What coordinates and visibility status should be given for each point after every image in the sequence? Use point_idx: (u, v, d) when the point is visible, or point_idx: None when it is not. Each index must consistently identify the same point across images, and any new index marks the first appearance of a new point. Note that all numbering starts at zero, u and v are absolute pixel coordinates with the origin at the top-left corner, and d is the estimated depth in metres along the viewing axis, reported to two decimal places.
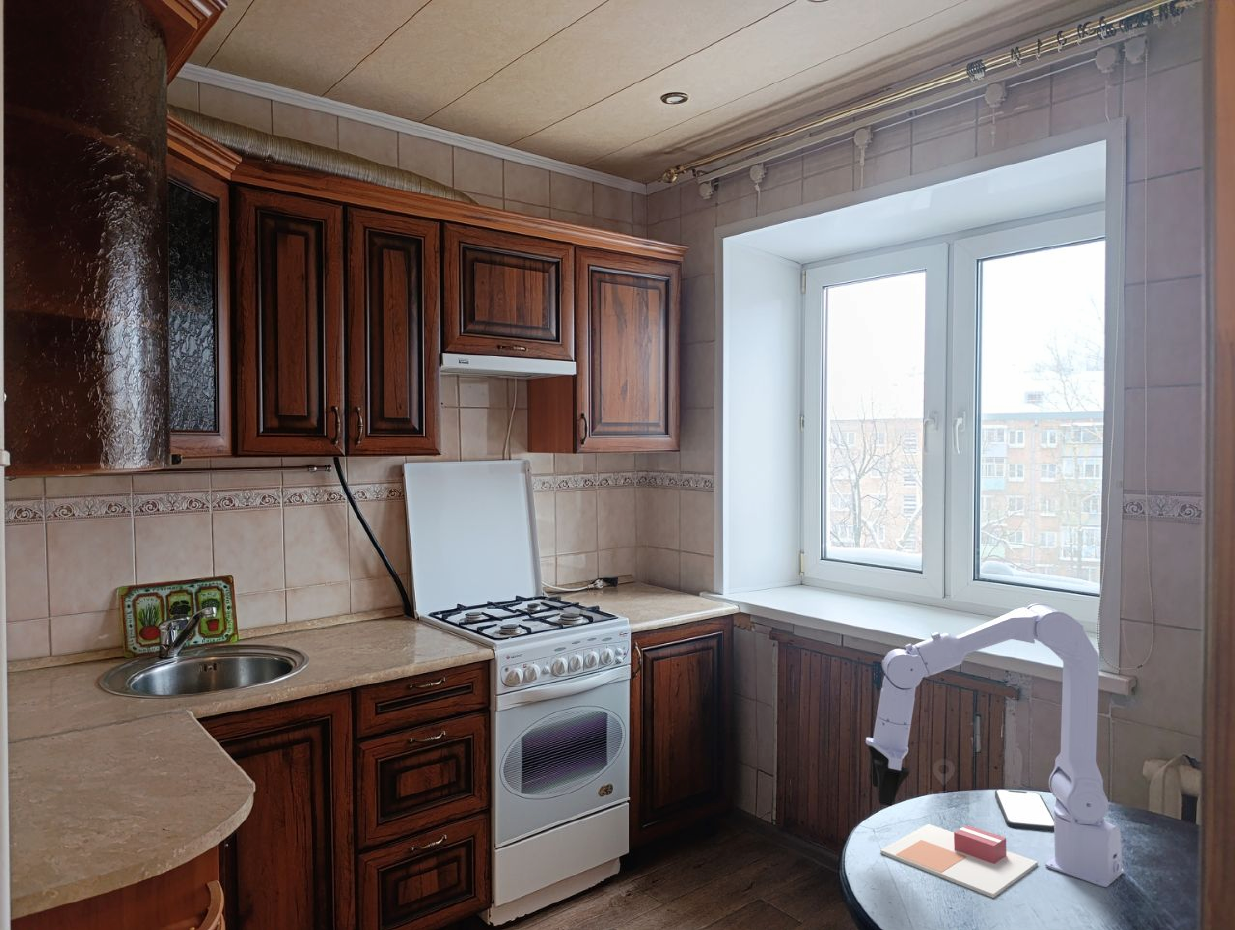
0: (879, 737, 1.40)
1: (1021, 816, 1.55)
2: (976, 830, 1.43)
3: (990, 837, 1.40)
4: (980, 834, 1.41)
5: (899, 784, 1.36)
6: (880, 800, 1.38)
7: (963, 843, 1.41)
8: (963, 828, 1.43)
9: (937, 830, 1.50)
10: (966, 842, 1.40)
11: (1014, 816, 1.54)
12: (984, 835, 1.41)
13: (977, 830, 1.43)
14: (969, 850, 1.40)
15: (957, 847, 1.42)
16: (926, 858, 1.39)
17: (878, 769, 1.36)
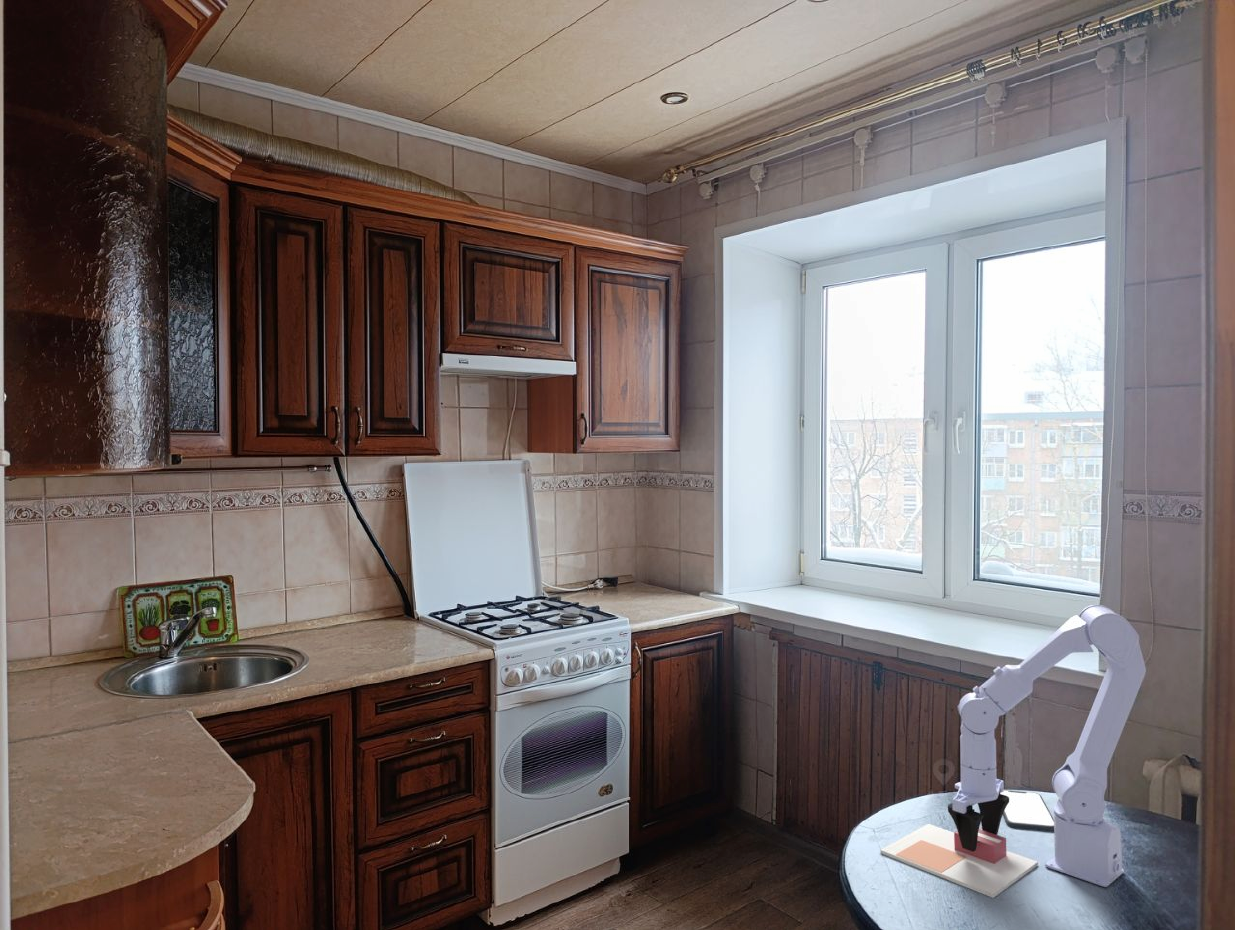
0: (961, 781, 1.42)
1: (1021, 816, 1.54)
2: None
3: (990, 837, 1.40)
4: (980, 834, 1.41)
5: (973, 829, 1.36)
6: (962, 844, 1.39)
7: None
8: None
9: (937, 830, 1.50)
10: None
11: (1014, 816, 1.54)
12: (984, 835, 1.41)
13: None
14: None
15: (957, 847, 1.42)
16: (926, 858, 1.39)
17: (949, 811, 1.39)
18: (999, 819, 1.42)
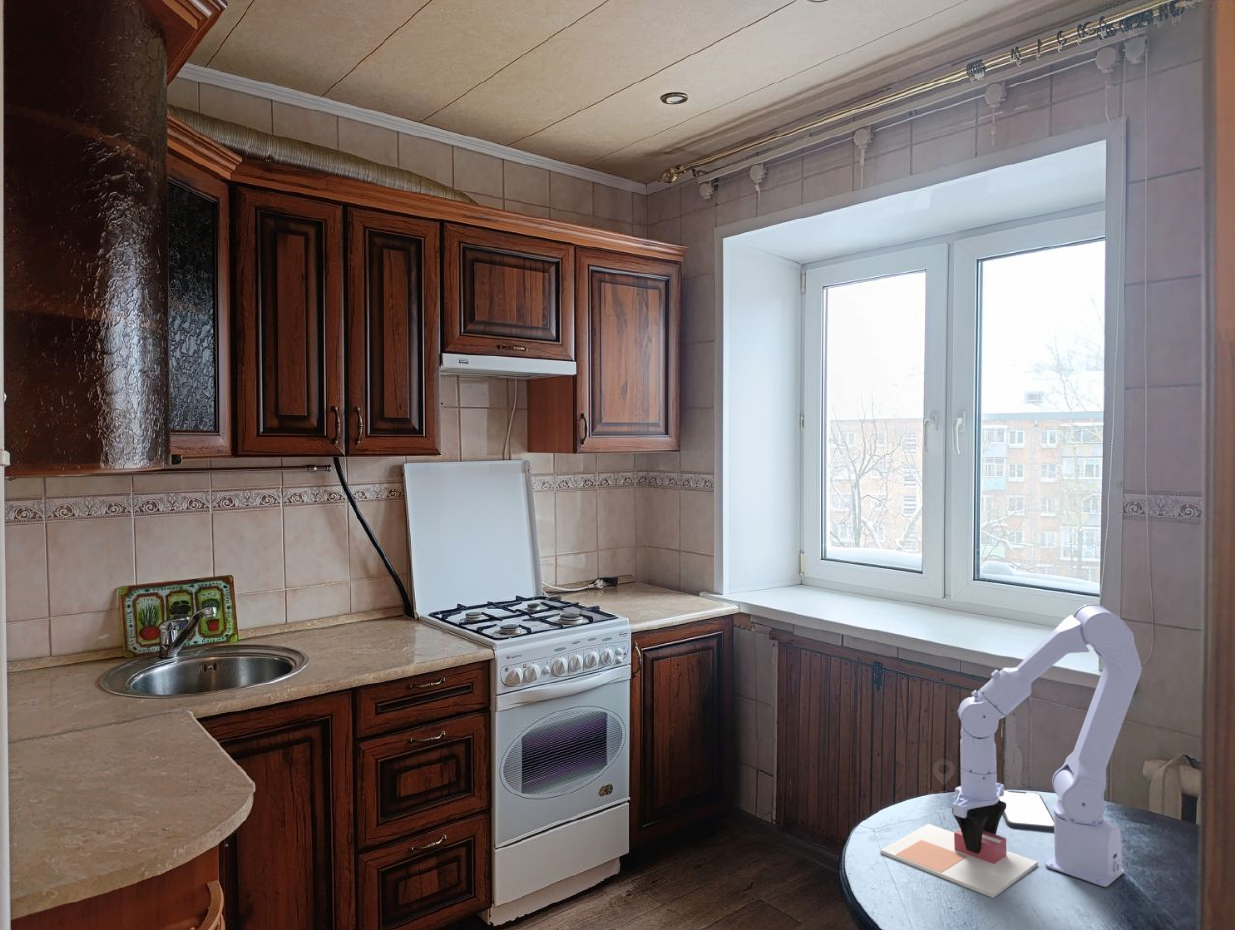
0: (961, 785, 1.42)
1: (1021, 816, 1.54)
2: None
3: (990, 837, 1.40)
4: None
5: (977, 831, 1.37)
6: (966, 846, 1.40)
7: (963, 843, 1.41)
8: None
9: (937, 830, 1.50)
10: None
11: (1014, 816, 1.54)
12: (984, 835, 1.41)
13: None
14: None
15: (957, 847, 1.42)
16: (926, 858, 1.39)
17: (953, 813, 1.40)
18: (996, 825, 1.41)
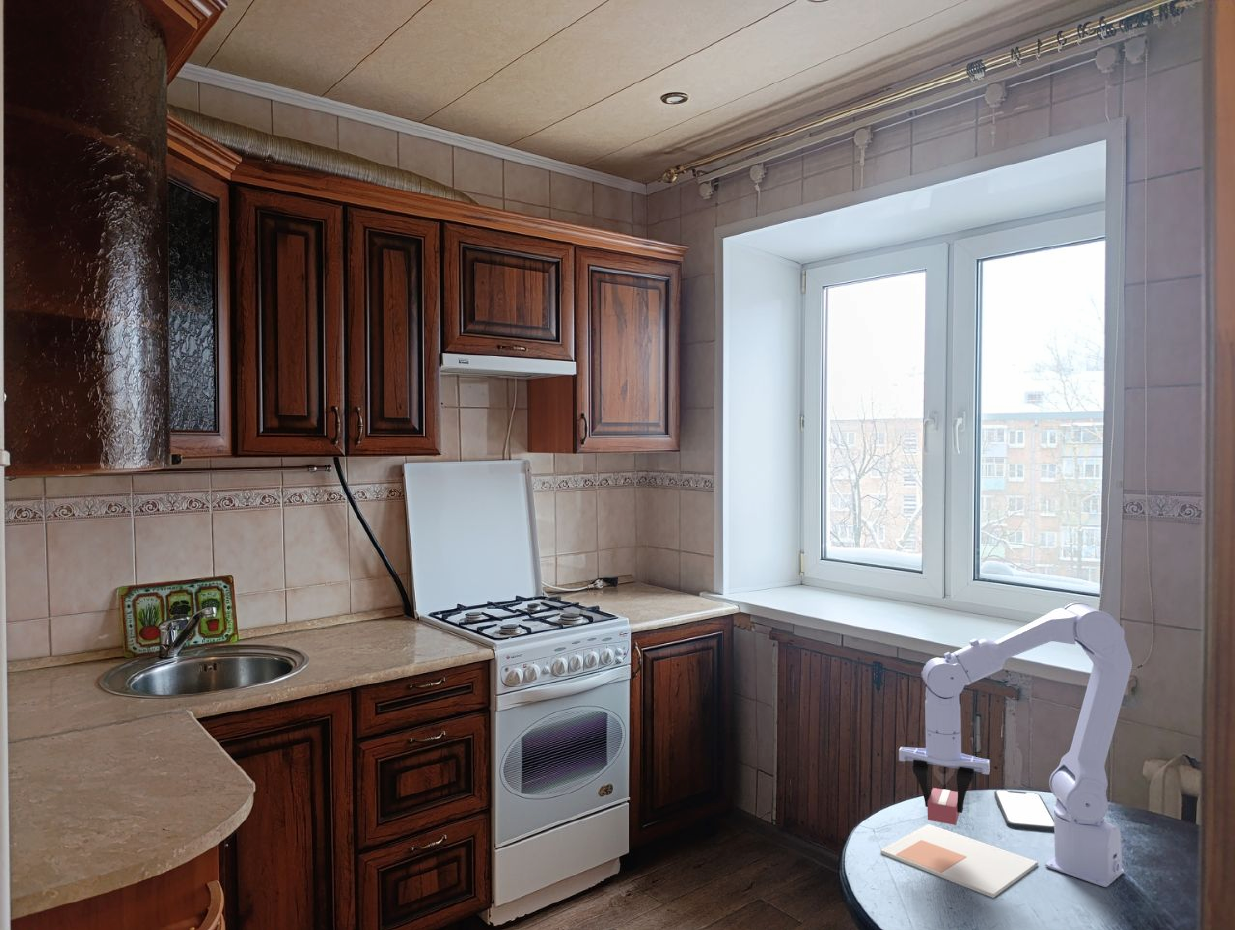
0: None
1: (1021, 816, 1.54)
2: (954, 796, 1.41)
3: (946, 801, 1.39)
4: (946, 797, 1.40)
5: None
6: None
7: None
8: (947, 790, 1.43)
9: (937, 830, 1.50)
10: None
11: (1014, 817, 1.54)
12: (946, 798, 1.40)
13: (952, 796, 1.41)
14: None
15: None
16: (926, 858, 1.39)
17: None
18: (959, 793, 1.38)
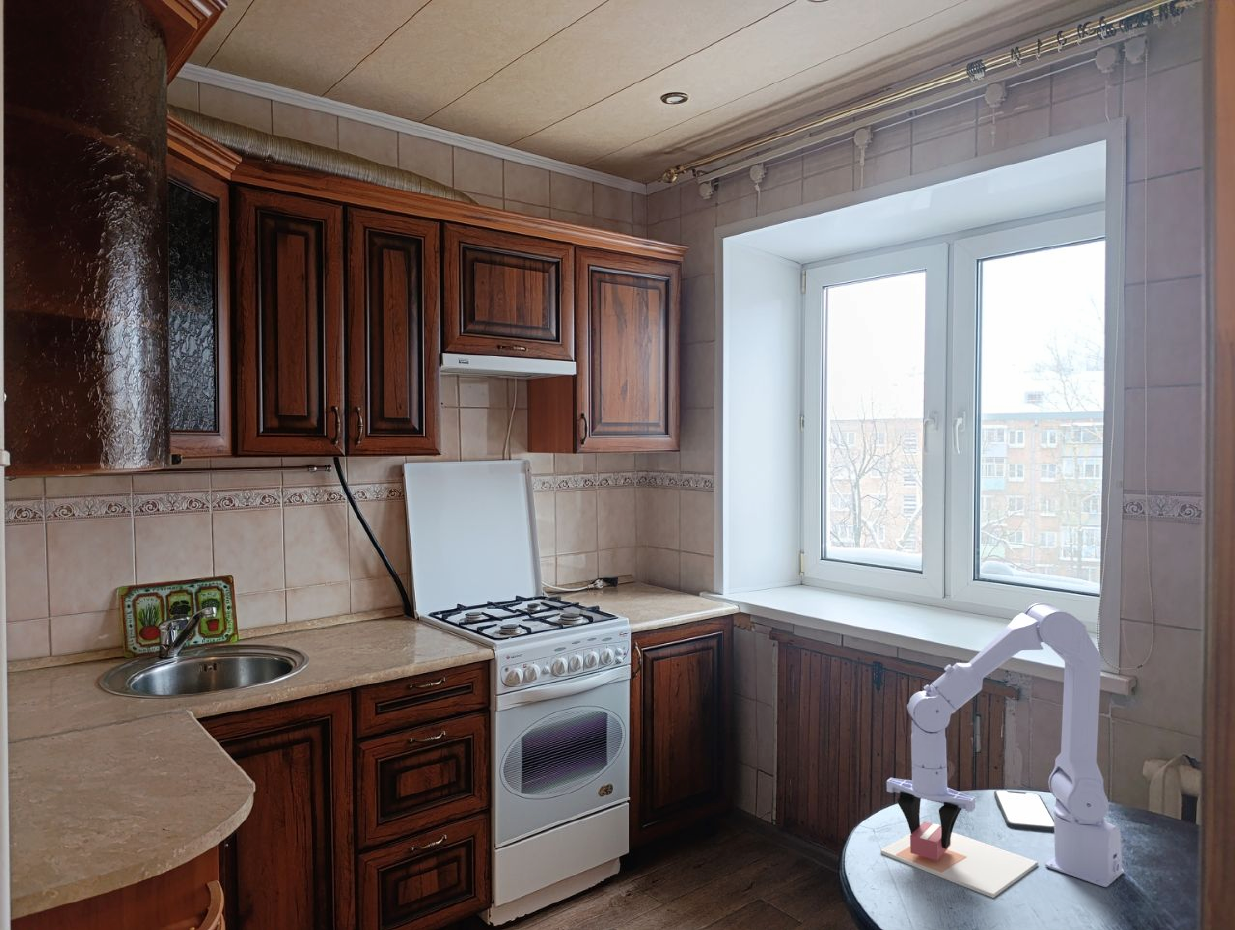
0: None
1: (1021, 816, 1.54)
2: None
3: (930, 835, 1.38)
4: (932, 831, 1.40)
5: (904, 814, 1.41)
6: None
7: None
8: (937, 825, 1.42)
9: None
10: None
11: (1014, 817, 1.54)
12: (931, 833, 1.39)
13: (940, 831, 1.40)
14: None
15: None
16: (926, 858, 1.39)
17: None
18: (943, 829, 1.37)
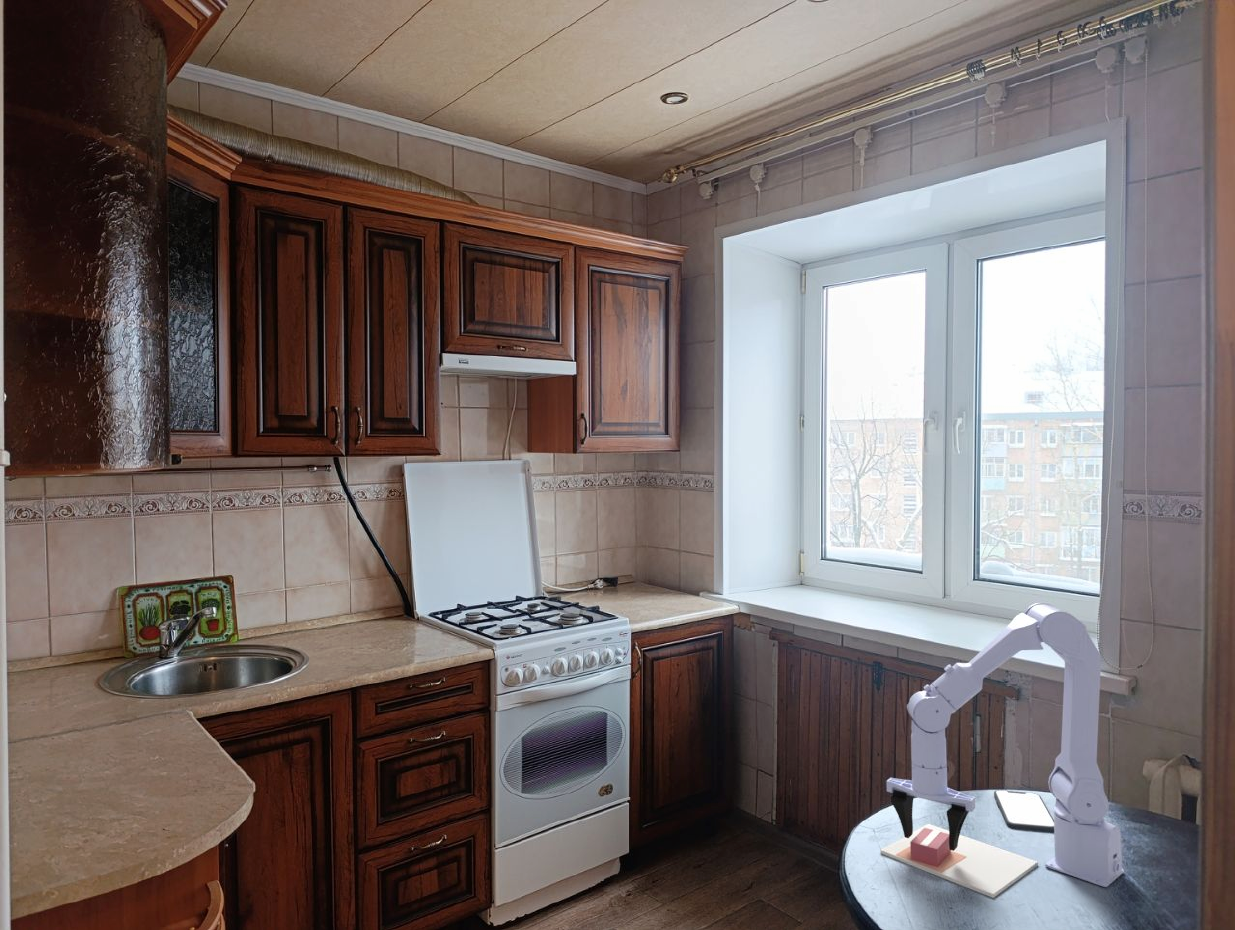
0: None
1: (1021, 817, 1.54)
2: (942, 837, 1.40)
3: (931, 842, 1.38)
4: (932, 838, 1.40)
5: None
6: None
7: None
8: (937, 831, 1.42)
9: (937, 830, 1.50)
10: None
11: (1014, 817, 1.54)
12: (931, 839, 1.39)
13: (940, 837, 1.40)
14: None
15: None
16: None
17: None
18: (950, 831, 1.36)
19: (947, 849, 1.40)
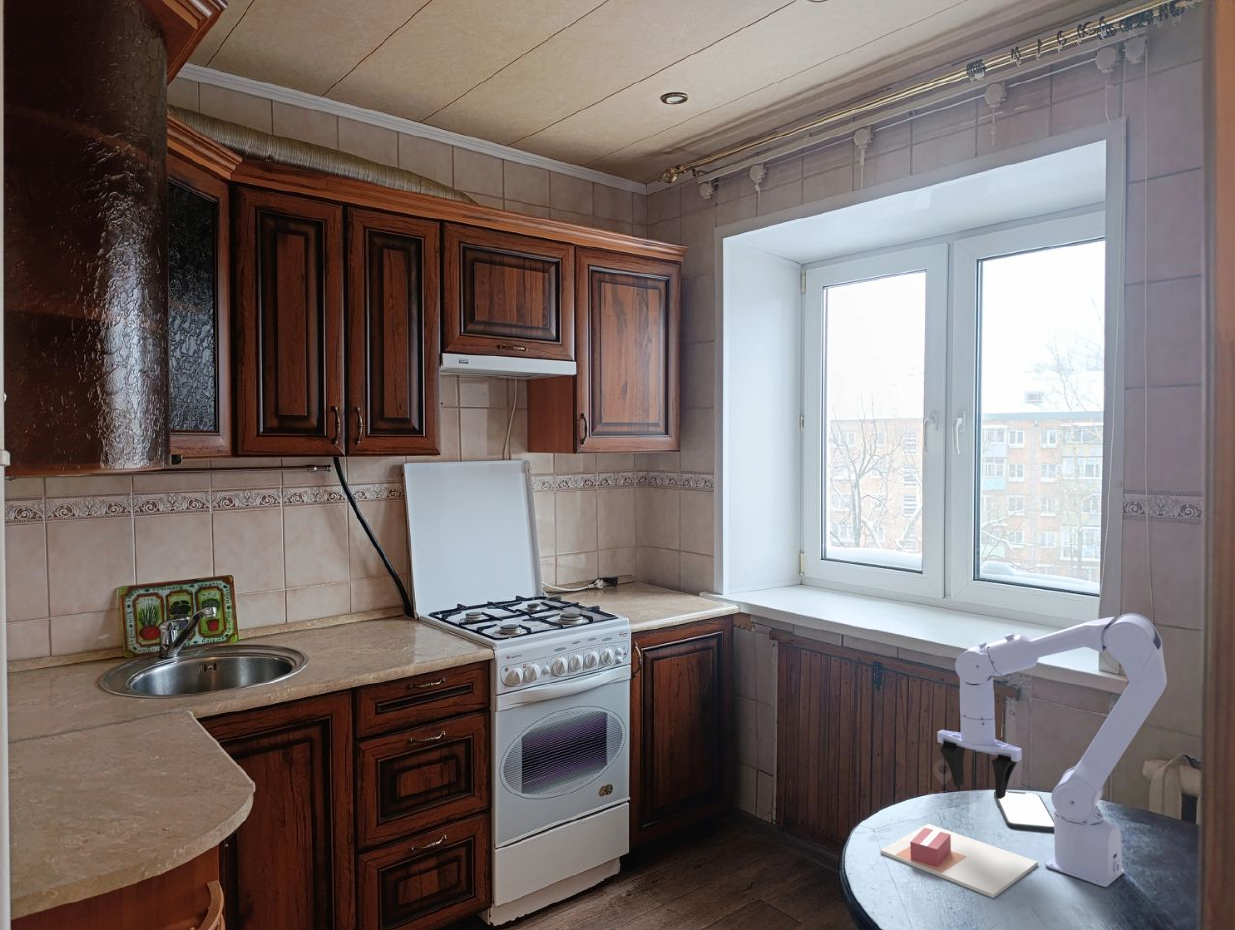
0: None
1: (1021, 817, 1.54)
2: (942, 837, 1.40)
3: (931, 842, 1.38)
4: (932, 838, 1.40)
5: (947, 762, 1.49)
6: None
7: None
8: (937, 831, 1.42)
9: (937, 830, 1.50)
10: None
11: (1014, 817, 1.54)
12: (931, 839, 1.39)
13: (940, 837, 1.40)
14: None
15: None
16: None
17: None
18: (996, 779, 1.42)
19: (947, 849, 1.40)
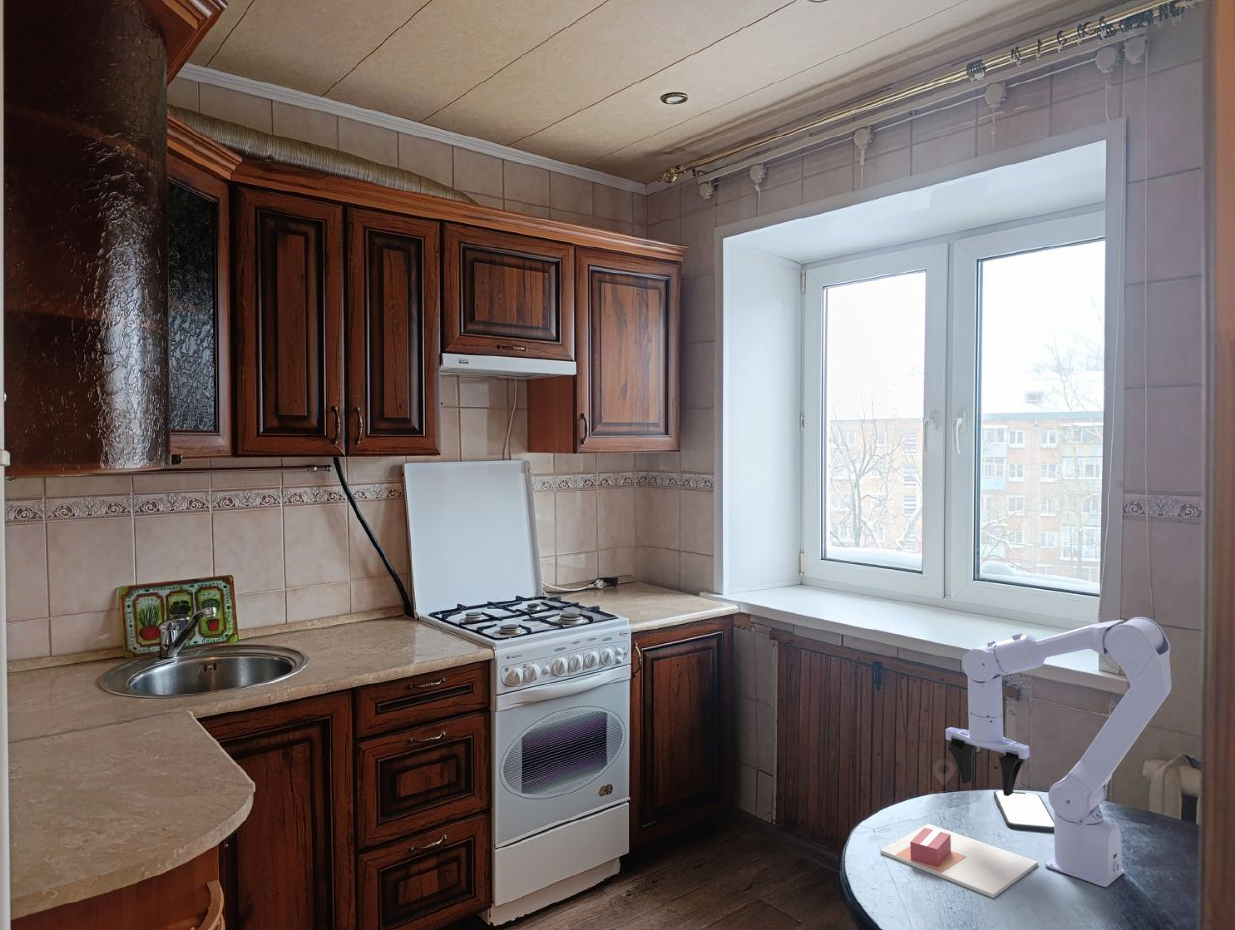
0: None
1: (1021, 817, 1.54)
2: (942, 837, 1.40)
3: (931, 842, 1.38)
4: (932, 838, 1.40)
5: (955, 759, 1.50)
6: None
7: None
8: (937, 831, 1.42)
9: (937, 830, 1.50)
10: None
11: (1014, 817, 1.54)
12: (931, 839, 1.39)
13: (940, 837, 1.40)
14: None
15: None
16: None
17: None
18: (1004, 777, 1.43)
19: (947, 849, 1.40)
